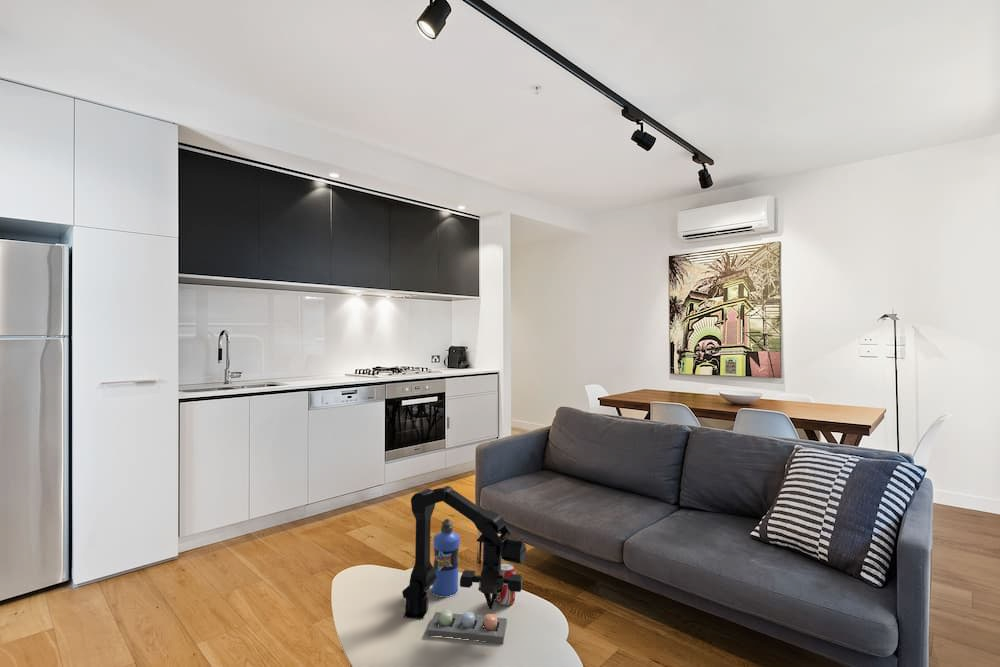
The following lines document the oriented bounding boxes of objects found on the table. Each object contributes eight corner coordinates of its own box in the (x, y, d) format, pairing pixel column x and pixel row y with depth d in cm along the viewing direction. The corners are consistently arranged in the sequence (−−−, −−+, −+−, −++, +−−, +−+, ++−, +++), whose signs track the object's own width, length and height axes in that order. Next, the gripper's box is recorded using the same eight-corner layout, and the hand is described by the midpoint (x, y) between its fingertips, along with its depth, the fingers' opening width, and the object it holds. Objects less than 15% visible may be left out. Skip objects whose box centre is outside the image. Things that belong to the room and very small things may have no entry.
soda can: (513, 608, 163) (514, 572, 163) (492, 605, 164) (493, 569, 165) (516, 597, 170) (517, 563, 170) (497, 595, 171) (497, 560, 172)
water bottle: (435, 583, 179) (437, 514, 180) (460, 585, 178) (462, 516, 178) (428, 596, 170) (430, 523, 171) (454, 598, 168) (456, 525, 169)
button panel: (427, 636, 146) (427, 629, 146) (435, 618, 156) (435, 612, 156) (503, 643, 143) (503, 636, 143) (506, 624, 153) (506, 618, 153)
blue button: (460, 628, 148) (460, 618, 148) (462, 621, 152) (463, 611, 152) (473, 629, 147) (473, 619, 147) (475, 622, 151) (475, 612, 151)
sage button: (437, 626, 148) (438, 616, 149) (440, 619, 152) (441, 609, 152) (450, 627, 148) (450, 617, 148) (453, 620, 152) (453, 610, 152)
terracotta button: (483, 630, 147) (483, 620, 147) (484, 623, 151) (485, 613, 151) (496, 632, 146) (496, 621, 146) (497, 624, 150) (497, 614, 150)
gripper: (456, 566, 142) (455, 620, 142) (520, 571, 140) (518, 626, 140) (464, 550, 153) (462, 601, 153) (522, 555, 151) (521, 606, 151)
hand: (490, 608), depth 149 cm, fingers closed
